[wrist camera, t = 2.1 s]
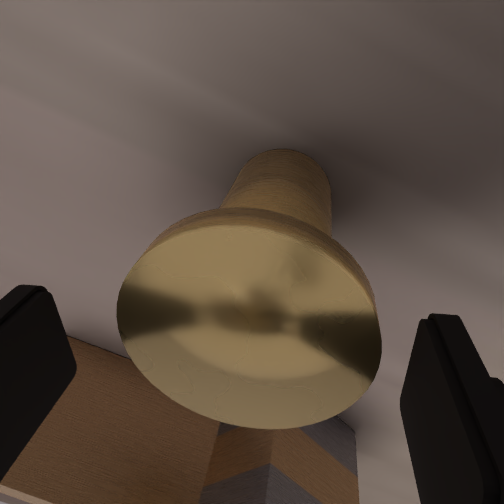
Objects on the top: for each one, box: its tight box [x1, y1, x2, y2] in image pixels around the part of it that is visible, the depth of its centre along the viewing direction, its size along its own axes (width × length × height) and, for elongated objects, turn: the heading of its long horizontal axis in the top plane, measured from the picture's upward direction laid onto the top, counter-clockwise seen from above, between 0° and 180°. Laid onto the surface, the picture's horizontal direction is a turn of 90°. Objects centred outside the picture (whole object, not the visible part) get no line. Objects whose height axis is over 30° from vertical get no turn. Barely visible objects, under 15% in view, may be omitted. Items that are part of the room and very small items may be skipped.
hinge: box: [0, 336, 359, 504], centre depth 22 cm, size 16×20×8 cm
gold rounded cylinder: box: [117, 149, 382, 429], centre depth 12 cm, size 6×6×8 cm
